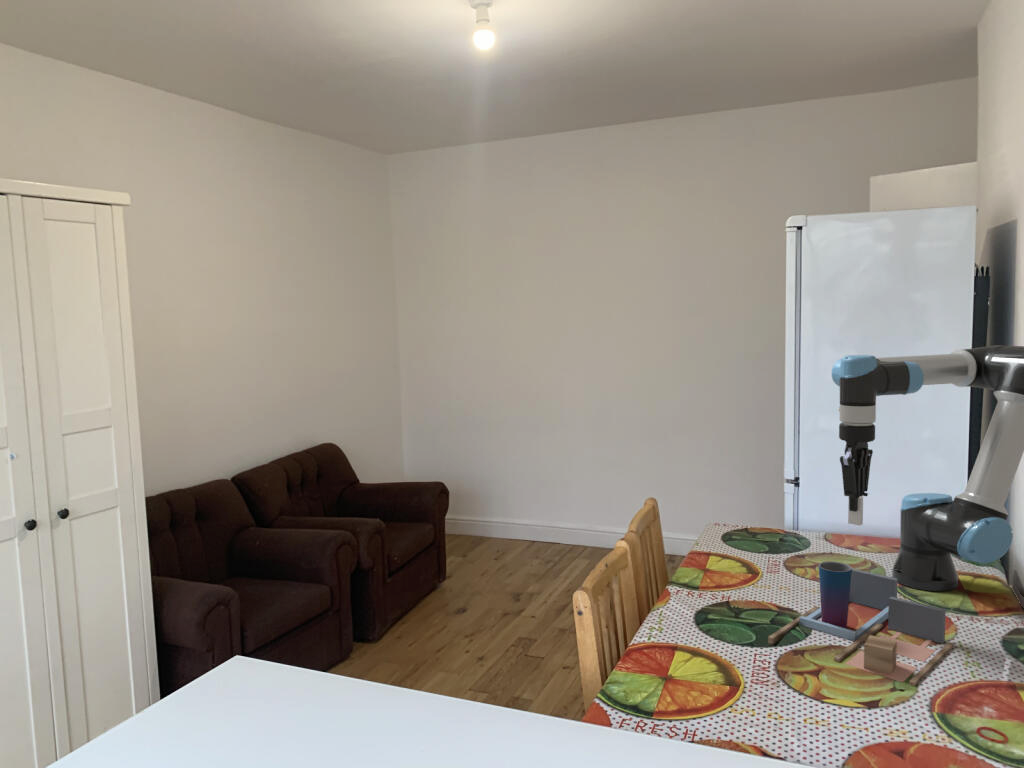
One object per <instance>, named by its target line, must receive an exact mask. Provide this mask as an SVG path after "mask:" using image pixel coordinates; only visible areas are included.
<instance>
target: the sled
mask: <svg viewBox="0 0 1024 768" xmlns="http://www.w3.org/2000/svg"><path fill="white" fill-rule="evenodd" d="M897 581H898V579H897V578H892V576H888V575H883V574H880V573H874V572H870V571H864V570H861V569H856V568H852V573H851V585H850V596H849V603H852V604H853V603H854V604H858V605H862V606H866V607H870V608H872V609H877V610H881V611H880V612H879V613H877V614H876V615H875V616H873V617H872V618H870V619H869V620H868V621H867V622H865V623H864V624H863V625H862V626H860V627H859V628H858V629H856V630H852V629H849V628H847V629H846V628H842V627H839V626H835V625H832V624H828V623H825V622H822V620H817V619H818V618H819V617H820V616H821V606H820V608H819V609H817V610H816V611H814V612H813V613H811V614H810V615H808V616H807V617H803V616H801V615H800V616H801V617H800V616H798V617H799V624H798V625H799V626H801V627H805V628H808V629H811V630H815V631H819V632H822V633H825V634H828V635H832V636H836V637H839V638H843V639H846V640H849V641H853V642H854V641H856V640H857V639H858V638H860V637H861V636H862V635H863V634H865V633H866V632H867V631H868V630H870V629H871V628H872V627H874V626H875V625H876V624H877V623H880V624H883V623H884V622H886V620H888V613H889V598H890V597H895V598H898V582H897Z"/></svg>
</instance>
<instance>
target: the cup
mask: <svg viewBox="0 0 1024 768" xmlns="http://www.w3.org/2000/svg"><path fill="white" fill-rule="evenodd" d="M852 569H853V567H852V566H851V565H849V564H847V563H844V562H840V561H831V560H830V561H822V562H820V563H818V577H819V594H820V607H821V622H825V623H828V624H832V625H835V626H839V627H842V628H846V629H848V618H849V606H850V602H849V596H850V585H851V573H852Z"/></svg>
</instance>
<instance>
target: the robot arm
mask: <svg viewBox="0 0 1024 768" xmlns="http://www.w3.org/2000/svg"><path fill="white" fill-rule="evenodd" d="M831 379H832V381H833V382H834V384H835V385H837V386H838V387H839V407H838V408H837V410H838V411H839V421H840V423H839V425H838V437H839V439H840V440H841V441H844V442H845V443H846V444H845V447H844V456H842V455H841V456H840V457H839V463H840V465H841V473H842V474H841V475H842V484H843V495H844V497H848V511H847V513H848V515H847V517H848V520H847V522H848V523H847V524H848V525H854V526H862V525H863V523H864V519H863V518H864V514H863V513H864V497H868V496H869V493H868V489H869V479H870V471H871V463H872V462H871V461H872V458H873V457H872V456H873V453H874V451H873V449H869V444H868V443H871V442H874V441H875V440H876V425H875V424H874V423H875V422H877V421H876V420H877V418H876V417H877V416H876V415H877V413H876V412H877V411H876V410H877V409H876V407H877V403H876V402H877V397H879V396H880V397H881V396H893V395H894V396H895V395H896V396H897V395H903V396H905V395H908V394H909V395H910V394H915V393H917V392H918V391H919V390H921V388H922V387H923V386H931V385H950V384H952V385H954V386H956V387H959V388H962V387H963V388H964V387H965V388H966V387H972V388H979V389H983V390H984V389H985V390H991V391H993V395H994V397H995V399H996V401H997V403H996V406H995V408H994V411H993V413H992V415H991V419H990V422H989V424H988V427H987V430H986V432H985V436H984V438H983V441H982V443H981V446H980V449H979V451H978V454H977V456H976V459H975V461H974V462H975V463H974V465H973V468H972V470H971V472H970V475H969V479H968V481H967V484H966V486H965V489H964V492H962V493H959V494H957V495H955V496H954V498H953V497H952V496H951V495H950V494H946V493H937V492H936V493H934V492H933V493H932V492H931V493H930V492H925V493H924V492H923V493H921V492H919V493H911V494H906V495H905V496H904V497H903V498H902V499H901V506H900V510H899V511H900V539H899V541H900V547H899V551H898V554H897V557H896V559H895V561H894V564H893V566H892V573H891V574H892V575H891V577H892V578H897V579H898V581H897V584H900V585H902V586H905V587H908V588H912V589H917V590H922V591H932V592H945V591H952V590H954V589H956V588H957V587H958V586H959V585H958V584H959V576H958V572H957V570H956V566H955V563H954V560H953V557H952V554H953V555H956V556H958V557H961V558H962V559H964V560H967V561H971V562H975V563H978V564H990V563H993V562H995V561H998V560H1000V559H1001V558H1002V557H1003V556H1004V555H1005V554H1006V553H1007V552H1008V551H1009V549H1010V547H1011V545H1012V543H1013V539H1014V538H1013V537H1014V535H1013V533H1012V531H1013V529H1012V526H1011V524H1010V523H1009V522H1008V521H1007V520H1008V517H1009V512H1008V511H1007V509H1006V508H1005V504H1006V501H1007V499H1008V495H1009V492H1010V490H1011V488H1012V484H1013V482H1014V480H1015V476H1016V473H1017V471H1018V468H1019V466H1020V462H1021V460H1022V457H1023V455H1024V346H1023V345H1007V344H1006V345H1005V344H1004V345H1002V344H1001V345H1000V344H999V345H990V346H989V345H988V346H981V347H974V348H973V347H972V348H965V349H955V350H954V351H952V352H951V353H947V354H945V353H944V354H928V355H907V356H905V355H904V356H888V357H887V356H885V357H876V356H875V355H869V354H857V355H856V354H850V355H844V356H842V358H840V359H838V360H837V361H836V362H835V363H833V366H832V369H831Z"/></svg>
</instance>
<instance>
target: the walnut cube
mask: <svg viewBox="0 0 1024 768" xmlns="http://www.w3.org/2000/svg"><path fill="white" fill-rule="evenodd" d="M863 651H864V669H869V670H873V671H877V672H881V673H885V674H890V675H892V673H893V671H894V669H895V666H896V661H897V655H898V654H897V641H895V640H890V639H886V638H881V637H879V636H876V635H869V637H868V639H867V640H866V641H865V642H864V645H863Z"/></svg>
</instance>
